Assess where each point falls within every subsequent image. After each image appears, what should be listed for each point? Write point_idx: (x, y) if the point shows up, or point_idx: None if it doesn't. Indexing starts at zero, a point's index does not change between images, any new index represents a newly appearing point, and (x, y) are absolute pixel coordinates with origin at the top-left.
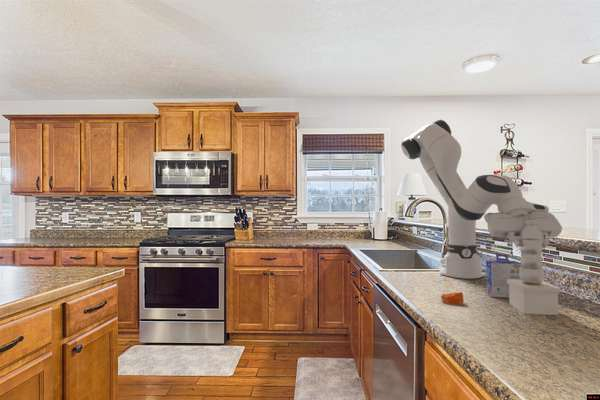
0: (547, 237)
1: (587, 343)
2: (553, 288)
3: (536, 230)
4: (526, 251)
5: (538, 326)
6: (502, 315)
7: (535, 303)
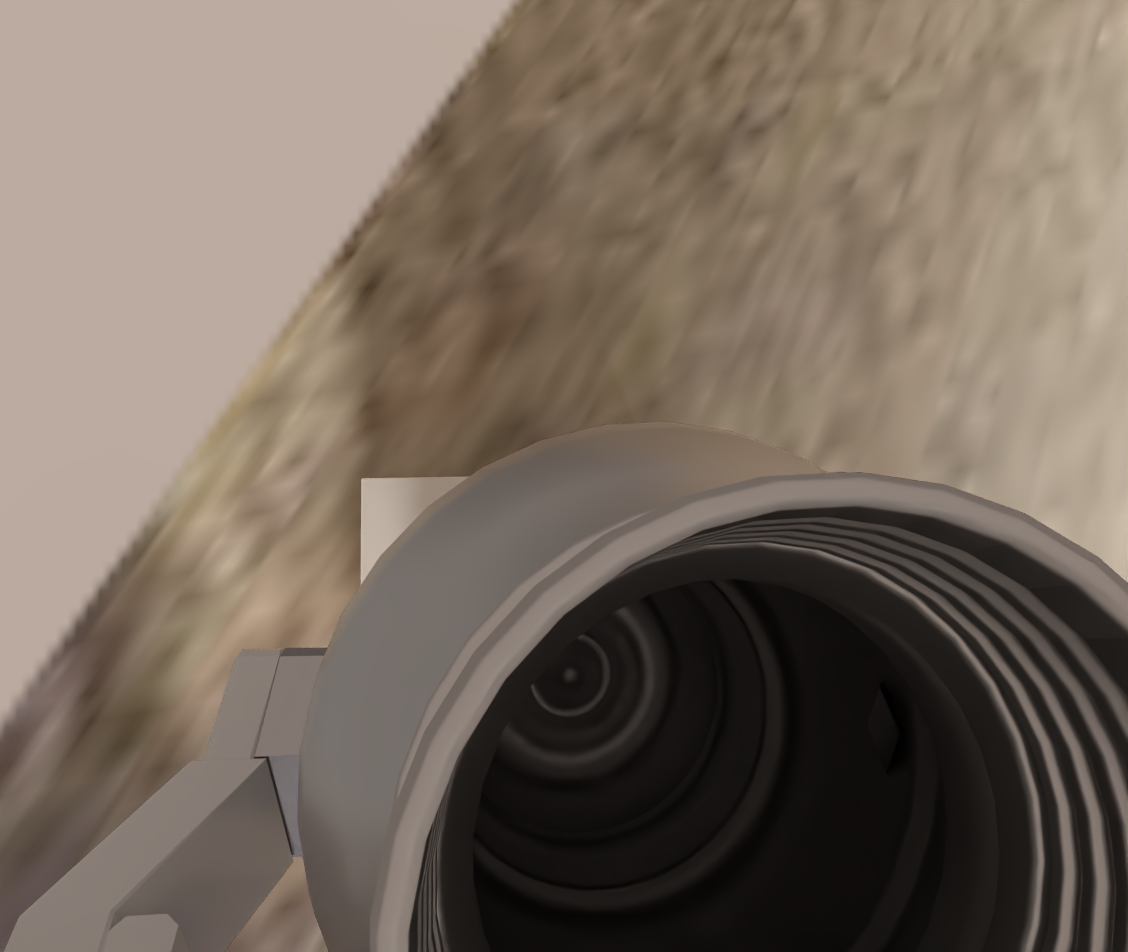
0: (138, 809)
1: (546, 11)
2: (435, 479)
3: (610, 489)
4: (745, 587)
5: (702, 251)
6: (871, 453)
7: None
